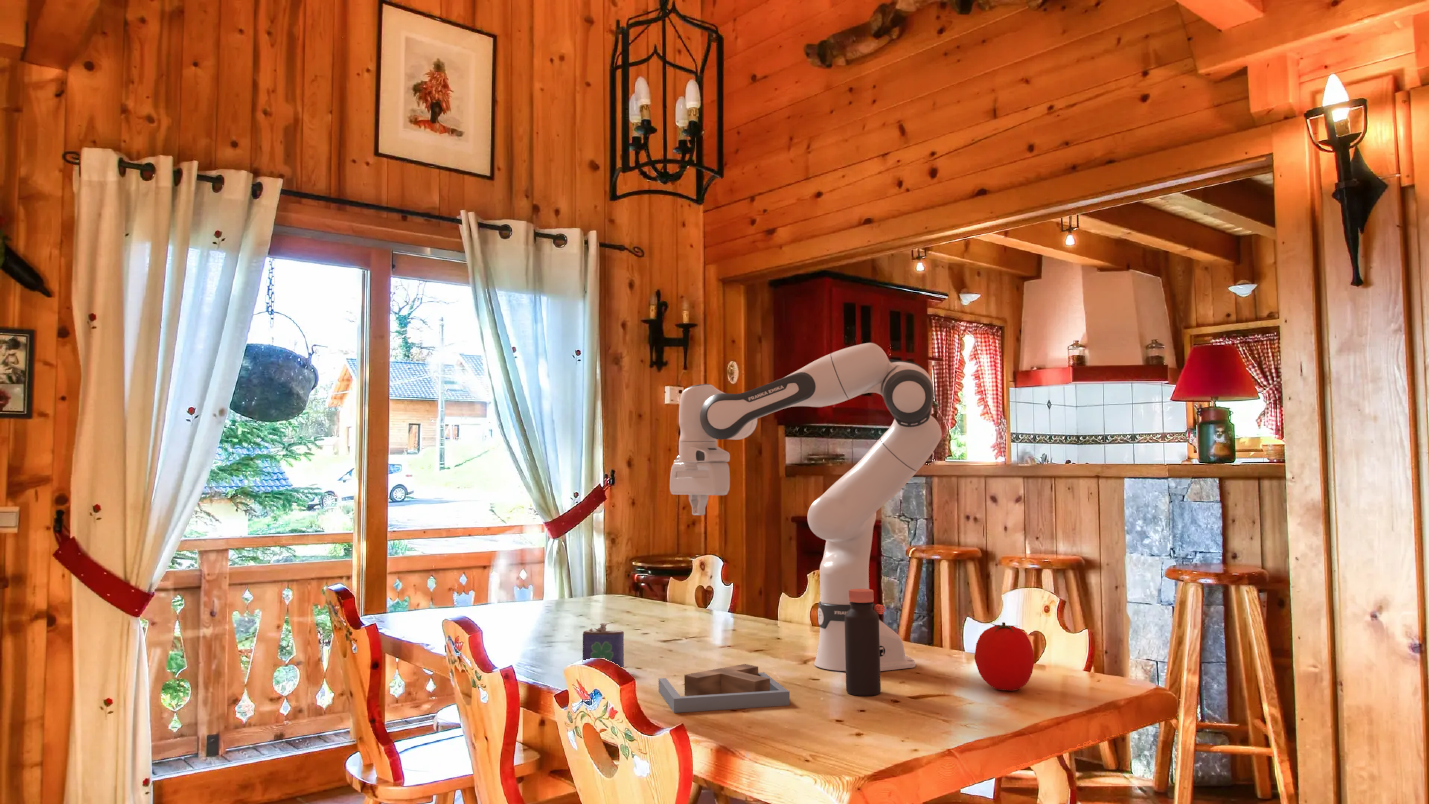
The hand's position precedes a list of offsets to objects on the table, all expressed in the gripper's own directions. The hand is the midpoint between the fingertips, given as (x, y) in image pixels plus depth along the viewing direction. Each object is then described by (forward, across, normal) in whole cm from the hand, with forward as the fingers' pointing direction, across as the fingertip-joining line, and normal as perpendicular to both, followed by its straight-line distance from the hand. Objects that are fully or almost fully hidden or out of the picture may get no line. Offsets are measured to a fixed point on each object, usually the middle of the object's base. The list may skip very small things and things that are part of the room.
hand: (698, 515), depth 215 cm
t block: (+34, +28, -9) cm, 45 cm away
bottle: (+34, +41, +12) cm, 55 cm away
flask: (+34, -8, -20) cm, 41 cm away
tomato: (+34, +56, +36) cm, 75 cm away
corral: (+34, +28, -13) cm, 46 cm away
